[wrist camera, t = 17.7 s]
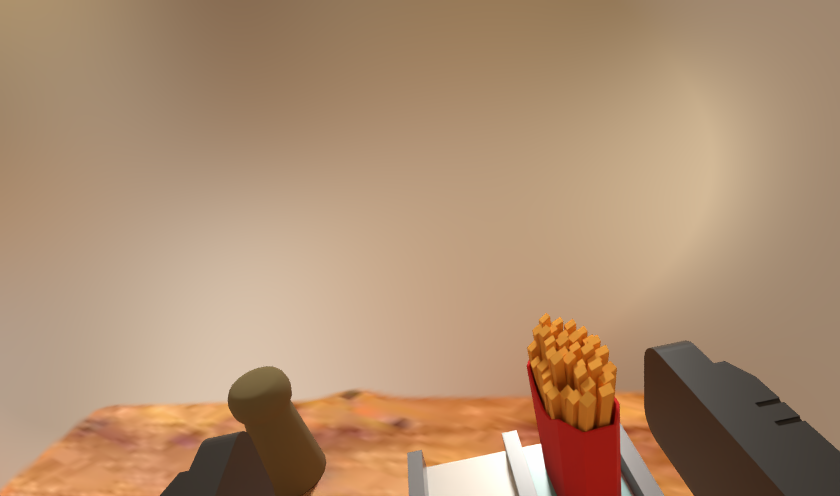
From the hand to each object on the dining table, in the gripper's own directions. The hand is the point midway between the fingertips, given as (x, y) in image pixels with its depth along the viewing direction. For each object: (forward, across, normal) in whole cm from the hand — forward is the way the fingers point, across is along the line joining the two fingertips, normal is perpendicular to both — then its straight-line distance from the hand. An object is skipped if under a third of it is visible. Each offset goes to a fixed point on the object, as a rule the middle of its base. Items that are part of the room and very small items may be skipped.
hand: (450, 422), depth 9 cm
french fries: (+17, -8, +25) cm, 32 cm away
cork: (+26, +16, +27) cm, 41 cm away
